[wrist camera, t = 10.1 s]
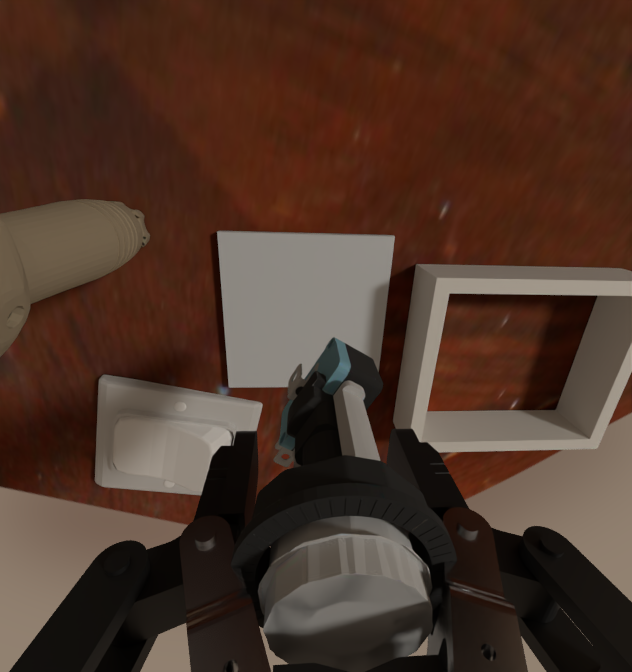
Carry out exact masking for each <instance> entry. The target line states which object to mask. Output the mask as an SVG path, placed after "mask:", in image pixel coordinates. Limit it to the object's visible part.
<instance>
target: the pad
mask: <svg viewBox="0 0 632 672" xmlns="http://www.w3.org/2000/svg"><path fill="white" fill-rule="evenodd" d="M217 237H218V250H219V263H220V277H221V290H222V303H223V317H224V330H225V344H226V357H227V370H228V384H229V387H288V381H289V379H290V377H291V375H292V374H293V372H294V371H295V369H296V368H297V366H298V365H299V364H302V376H301V377H302V378H303V379H305V377H306V376H307V375H308V373H309V372H310V370H311V369H312V367H313V366H314V364H315V363H316V361H317V360H318V359H319V357H320V356H321V354H322V353H323V351H324V350H325V348H326V346H327V344H328V343H329V341H330V340H331V339H332V338H333V337H335V338H337V339H338V340H340V341H342V342H344V343H346V344H348V345H349V346H351V347H353V348H355V349H356V350H358V351H360V352H362V353H364V354H365V355H367V356H369V357H371V358H372V359H373V360H374V363H375V365H376V367H377V370H378V372H379V364H380V356H381V348H382V339H383V331H384V323H385V314H386V306H387V298H388V289H389V281H390V273H391V264H392V256H393V248H394V239H395V236H393V235H365V234H327V233H289V232H251V231H218V232H217ZM296 375H297V374H296ZM296 375H295V377H296ZM295 377H294V379H295ZM294 379H293V381H294Z"/></svg>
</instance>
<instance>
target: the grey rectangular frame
mask: <svg viewBox="0 0 632 672" xmlns="http://www.w3.org/2000/svg"><path fill="white" fill-rule="evenodd" d="M449 293H454V294H528V295H598V296H597V299H596V301H595V304H594V307H593V310H592V312H591V315H590V318H589V321H588V323H587V326H586V329H585V331H584V334H583V337H582V340H581V342H580V345H579V348H578V351H577V353H576V356H575V359H574V361H573V364H572V367H571V370H570V372H569V375H568V378H567V381H566V383H565V386H564V389H563V391H562V394H561V397H560V400H559V402H558V405H557V408H556V410H507V411H430V412H427V408H428V403H429V397H430V392H431V387H432V382H433V377H434V371H435V366H436V361H437V356H438V351H439V345H440V340H441V335H442V330H443V325H444V319H445V314H446V309H447V304H448V299H449ZM631 372H632V271H629V270H625V269H621V268H584V267H534V266H484V265H434V264H416V268H415V275H414V282H413V288H412V295H411V302H410V309H409V315H408V322H407V329H406V336H405V342H404V349H403V356H402V363H401V369H400V376H399V383H398V390H397V396H396V403H395V410H394V417H393V423H394V425H395V428H396V429H413V430H414V432H415V434H416V436H417V438H418V440H419V442H428V443H429V444H430V445H431V446H432V447H433V448H434V449H435V450H437V451H438V452H473V451H518V450H563V449H597V448H598V446H599V444H600V441H601V439H602V437H603V434H604V432H605V430H606V428H607V426H608V423H609V421H610V419H611V417H612V414H613V412H614V410H615V408H616V405H617V403H618V401H619V399H620V397H621V394H622V392H623V390H624V388H625V385H626V383H627V381H628V379H629V376H630V374H631Z"/></svg>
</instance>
